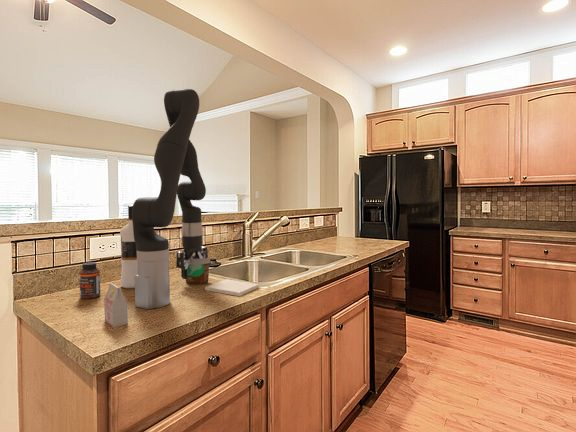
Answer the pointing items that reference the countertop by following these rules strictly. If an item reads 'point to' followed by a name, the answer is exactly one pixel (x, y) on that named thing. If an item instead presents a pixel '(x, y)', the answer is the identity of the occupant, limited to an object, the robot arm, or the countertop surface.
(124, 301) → the white milk carton
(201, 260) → the food container
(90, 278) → the supplement bottle
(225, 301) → the countertop surface
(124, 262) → the vodka
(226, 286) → the cutting board
